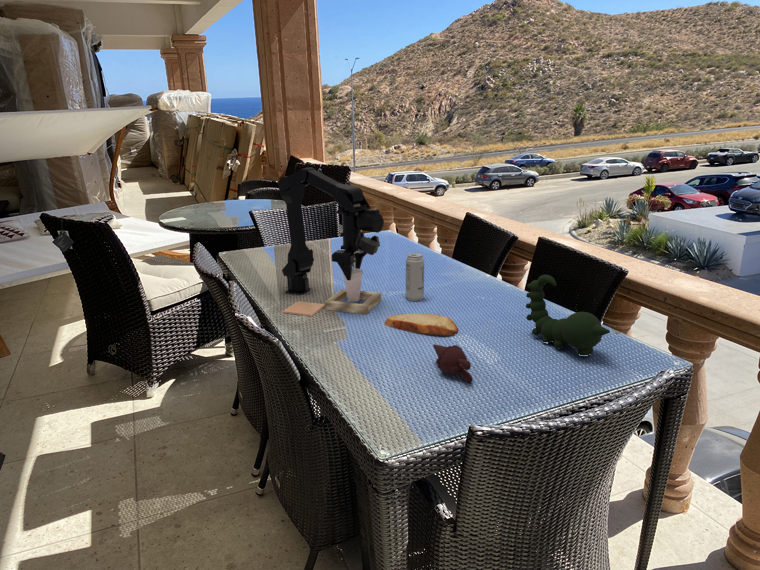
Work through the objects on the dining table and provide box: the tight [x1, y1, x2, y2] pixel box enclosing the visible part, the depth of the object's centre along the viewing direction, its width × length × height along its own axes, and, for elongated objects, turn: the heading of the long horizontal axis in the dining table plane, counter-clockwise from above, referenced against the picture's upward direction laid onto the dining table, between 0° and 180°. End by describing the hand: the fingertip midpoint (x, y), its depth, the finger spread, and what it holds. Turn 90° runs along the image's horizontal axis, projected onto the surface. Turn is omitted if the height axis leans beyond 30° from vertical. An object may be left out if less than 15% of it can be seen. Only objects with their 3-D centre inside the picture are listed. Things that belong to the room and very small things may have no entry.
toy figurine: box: [525, 274, 611, 355], centre depth 135 cm, size 9×19×25 cm
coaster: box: [282, 300, 325, 318], centre depth 167 cm, size 10×10×1 cm
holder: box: [323, 288, 382, 315], centre depth 170 cm, size 14×14×2 cm
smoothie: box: [342, 258, 364, 303], centre depth 168 cm, size 6×6×14 cm
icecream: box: [432, 343, 474, 384], centre depth 124 cm, size 7×7×15 cm
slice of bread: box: [384, 313, 459, 337], centre depth 151 cm, size 18×18×4 cm
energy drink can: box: [405, 252, 425, 302], centre depth 174 cm, size 6×6×15 cm
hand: (352, 277), depth 168 cm, fingers closed on smoothie, 6 cm apart
